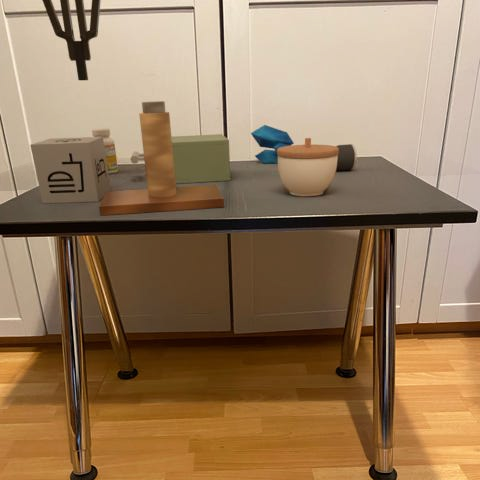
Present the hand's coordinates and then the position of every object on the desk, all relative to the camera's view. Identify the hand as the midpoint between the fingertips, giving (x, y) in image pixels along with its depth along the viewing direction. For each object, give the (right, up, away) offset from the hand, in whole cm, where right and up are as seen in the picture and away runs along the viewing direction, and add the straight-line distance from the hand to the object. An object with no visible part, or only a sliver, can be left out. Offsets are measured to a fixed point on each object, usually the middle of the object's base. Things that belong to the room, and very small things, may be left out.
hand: (83, 80), depth 93 cm
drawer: (+16, -15, +12) cm, 25 cm away
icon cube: (0, -23, -2) cm, 23 cm away
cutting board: (+17, -26, -9) cm, 32 cm away
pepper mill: (+17, -25, -10) cm, 32 cm away
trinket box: (+42, -23, -5) cm, 49 cm away
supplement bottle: (-2, -11, +23) cm, 25 cm away
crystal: (+39, -7, +29) cm, 49 cm away
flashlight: (+48, -13, +15) cm, 52 cm away
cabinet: (+20, -15, +13) cm, 28 cm away
